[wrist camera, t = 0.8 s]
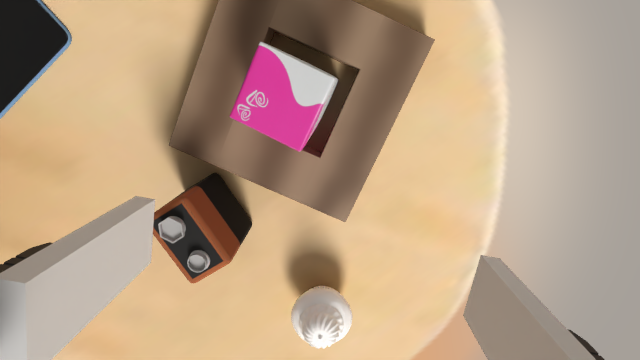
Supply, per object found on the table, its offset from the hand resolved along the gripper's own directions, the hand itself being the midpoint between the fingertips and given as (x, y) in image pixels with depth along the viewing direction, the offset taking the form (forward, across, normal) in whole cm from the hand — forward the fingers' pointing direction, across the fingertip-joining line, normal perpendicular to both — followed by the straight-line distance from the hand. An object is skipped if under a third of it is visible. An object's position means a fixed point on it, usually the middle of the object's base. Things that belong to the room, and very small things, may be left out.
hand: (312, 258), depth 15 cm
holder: (+24, -4, +5) cm, 25 cm away
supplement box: (+24, -4, +5) cm, 25 cm away
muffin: (+24, +2, -16) cm, 29 cm away
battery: (+24, -10, -8) cm, 27 cm away
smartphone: (+24, -33, +4) cm, 41 cm away
